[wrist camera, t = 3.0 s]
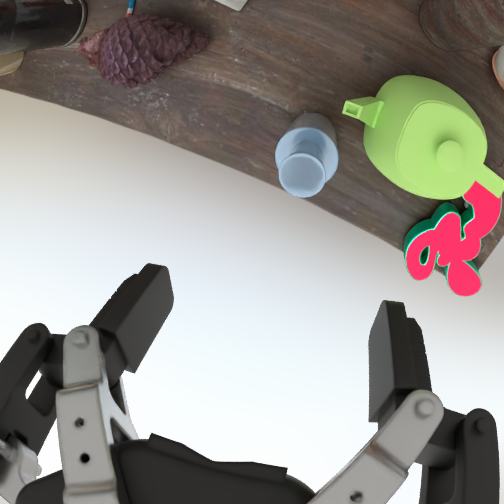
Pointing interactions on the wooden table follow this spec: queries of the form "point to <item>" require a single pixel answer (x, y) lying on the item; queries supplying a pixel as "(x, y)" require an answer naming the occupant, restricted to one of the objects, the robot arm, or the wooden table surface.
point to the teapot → (424, 138)
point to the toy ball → (499, 65)
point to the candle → (463, 23)
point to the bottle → (307, 155)
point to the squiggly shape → (453, 240)
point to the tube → (10, 62)
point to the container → (233, 3)
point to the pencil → (130, 8)
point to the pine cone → (140, 48)
